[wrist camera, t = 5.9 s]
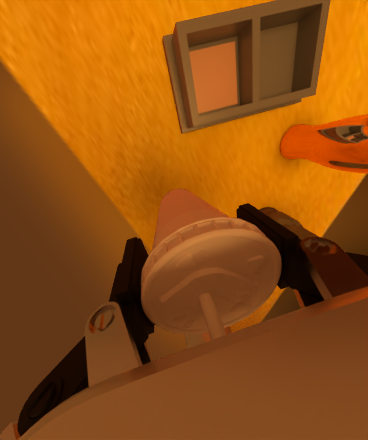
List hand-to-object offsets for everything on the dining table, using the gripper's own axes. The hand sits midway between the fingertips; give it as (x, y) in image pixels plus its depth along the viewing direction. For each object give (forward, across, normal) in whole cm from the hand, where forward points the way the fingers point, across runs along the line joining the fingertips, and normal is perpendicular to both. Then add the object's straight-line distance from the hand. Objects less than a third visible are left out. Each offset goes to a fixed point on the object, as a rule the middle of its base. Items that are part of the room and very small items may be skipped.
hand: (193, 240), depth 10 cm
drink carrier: (+21, -15, -11) cm, 28 cm away
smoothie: (+6, 0, 0) cm, 6 cm away
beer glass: (+21, -26, 0) cm, 34 cm away
